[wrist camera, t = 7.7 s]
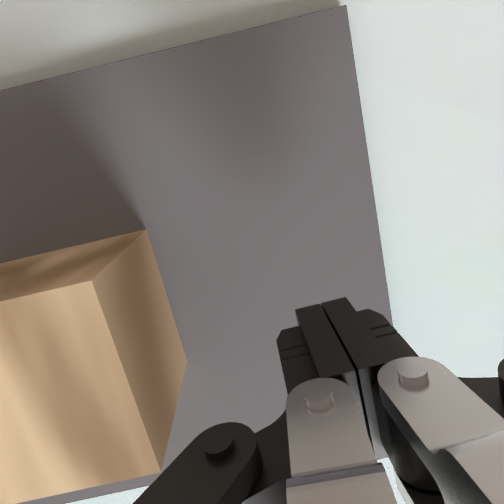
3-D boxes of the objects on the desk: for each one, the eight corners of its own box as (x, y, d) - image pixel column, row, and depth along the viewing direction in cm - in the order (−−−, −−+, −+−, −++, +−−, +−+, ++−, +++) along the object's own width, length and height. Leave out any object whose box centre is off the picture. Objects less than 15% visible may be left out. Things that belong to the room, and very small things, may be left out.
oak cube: (91, 280, 10) (-143, 334, 10) (161, 472, 11) (-42, 515, 11) (146, 229, 15) (-3, 263, 16) (187, 360, 17) (52, 391, 17)
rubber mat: (341, 10, 14) (346, 5, 14) (402, 421, 19) (408, 429, 18) (-281, 164, 15) (-301, 165, 14) (-70, 522, 20) (-79, 534, 19)
